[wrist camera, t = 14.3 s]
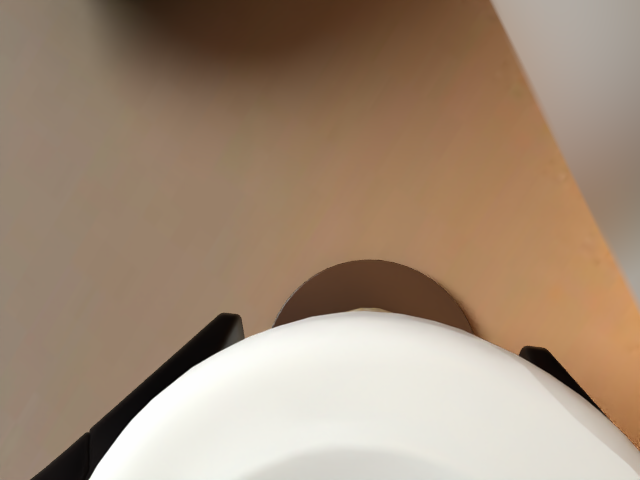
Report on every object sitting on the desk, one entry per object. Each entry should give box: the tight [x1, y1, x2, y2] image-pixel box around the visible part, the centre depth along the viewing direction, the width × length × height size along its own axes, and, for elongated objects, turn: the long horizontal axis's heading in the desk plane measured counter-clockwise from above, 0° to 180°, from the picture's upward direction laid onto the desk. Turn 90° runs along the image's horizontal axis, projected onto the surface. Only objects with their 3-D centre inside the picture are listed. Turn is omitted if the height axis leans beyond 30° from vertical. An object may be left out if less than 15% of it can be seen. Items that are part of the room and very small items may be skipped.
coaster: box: [272, 260, 474, 335], centre depth 16 cm, size 8×8×1 cm
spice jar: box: [89, 308, 640, 480], centre depth 9 cm, size 5×5×13 cm
